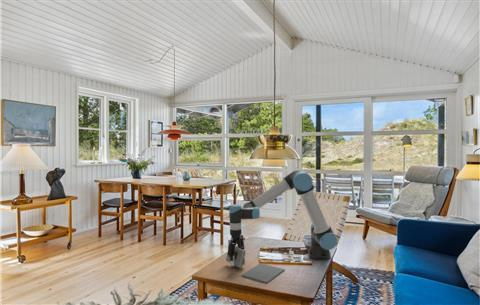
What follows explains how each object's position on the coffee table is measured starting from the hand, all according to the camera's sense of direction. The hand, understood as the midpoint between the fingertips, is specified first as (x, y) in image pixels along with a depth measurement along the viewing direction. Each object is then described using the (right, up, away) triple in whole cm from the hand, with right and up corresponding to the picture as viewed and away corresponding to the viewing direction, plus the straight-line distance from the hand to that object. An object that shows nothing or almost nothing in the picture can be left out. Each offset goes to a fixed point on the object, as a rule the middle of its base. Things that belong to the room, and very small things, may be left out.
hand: (236, 263), depth 211 cm
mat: (+17, -3, -10) cm, 20 cm away
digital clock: (-1, -1, 0) cm, 1 cm away
